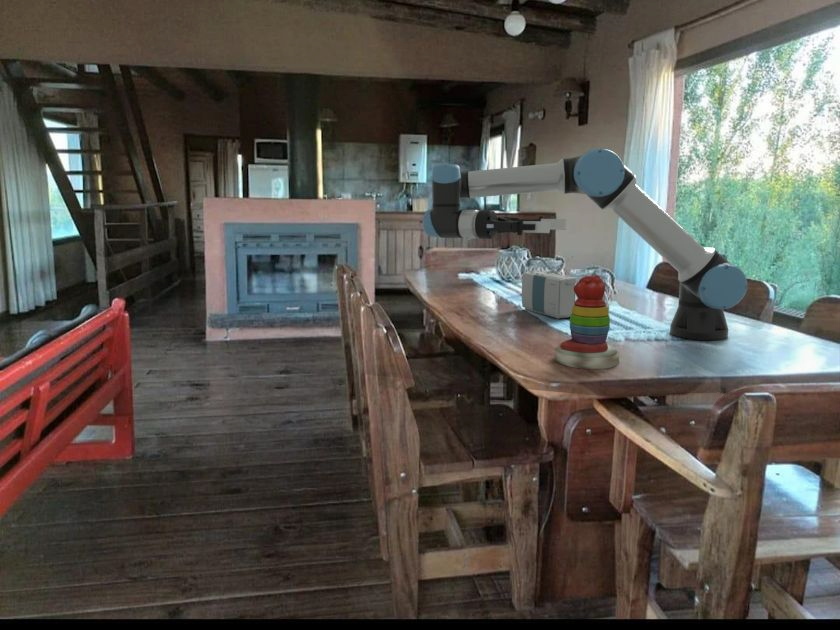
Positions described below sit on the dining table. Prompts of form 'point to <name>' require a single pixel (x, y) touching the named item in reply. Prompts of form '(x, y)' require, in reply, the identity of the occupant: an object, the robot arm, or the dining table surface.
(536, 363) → the dining table surface
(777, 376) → the dining table surface
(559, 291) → the stereo radio cassette player
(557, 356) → the stand
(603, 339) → the stacking bear
